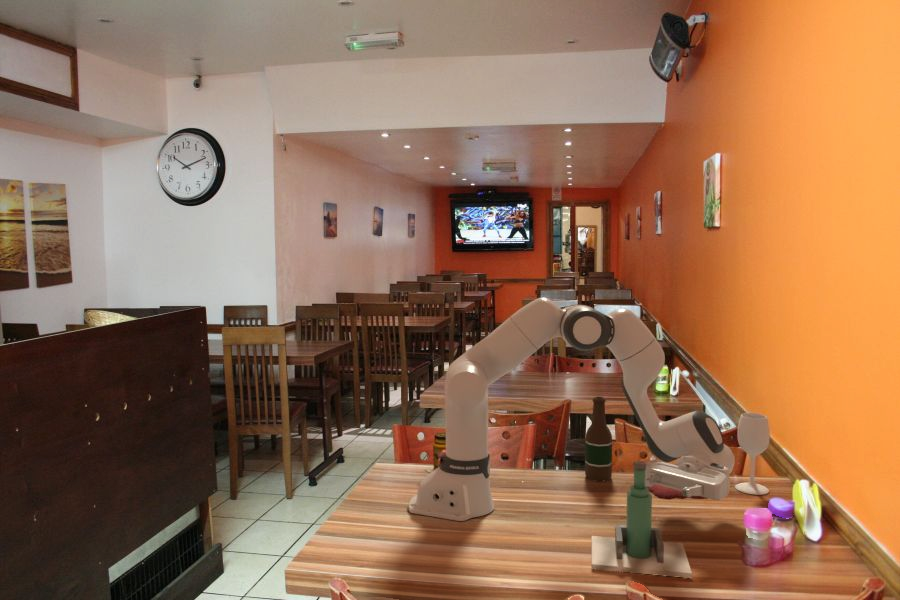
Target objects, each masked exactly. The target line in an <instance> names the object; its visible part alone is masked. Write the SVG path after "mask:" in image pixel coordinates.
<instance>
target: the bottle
mask: <svg viewBox="0 0 900 600" xmlns="http://www.w3.org/2000/svg"><path fill="white" fill-rule="evenodd" d="M646 463H647V462H644V461H639V460H638V461H637V460H636V461H633V462H632V468H633V484H631V485H630V486H629V487H630V489H629V491H627V493H626V525H625V526H626V553H627V554H628V555H629V556H631V557H634V558H638V559H645V558H649V557H650V556H651V528H652V518H653V517H652V516H653V515H652V510H653V507H652V505H653V504H652V503H653V500H652V499H653V496H652V494H651V493H649V492H650V491H649V488H648V486H645V469H646V465H647V464H646Z"/></svg>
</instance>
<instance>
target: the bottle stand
mask: <svg viewBox="0 0 900 600" xmlns="http://www.w3.org/2000/svg"><path fill="white" fill-rule="evenodd" d="M614 526H615V527H614V530H615V531H614V532H615V533H614V537H611V536H610V537H609V536H599V535H591V570H592V571H601V570H602V572H612V571H614V573H623V572H632V573H631V574H634V573H643V574H642V575H644V574H657V575H666V576H679V577H683V578H682V579H687V578H690V579H689V580H692V579H693V573H692V569H691V566H690V563H689V560H688V556H687V553H686V550H685V546H684V544H683V542H674V541H673V542H671V541H670V542H669V541H663V536H662V531H661V528H660V527H651V556H650V557H649V558H645V559H638V558H634V557H631V556H629V555H628V554H627V553H626V525H623V524H615V525H614ZM593 569H594V570H593ZM615 571H617V572H615ZM618 571H619V572H618ZM666 576H665V577H666Z"/></svg>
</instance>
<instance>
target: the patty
mask: <svg viewBox="0 0 900 600" xmlns="http://www.w3.org/2000/svg"><path fill="white" fill-rule="evenodd" d="M647 487H648V488H649V492H650V491H651V492H650V493H652V492H653V493H652V494H653V495H654V497H656V496H657V497H656V498H658V497H659V499H662V498H665V499H664V500H672V499H671V498H673V499H686V498H687V497H686V496H683V495H682V493H683V491H679V490H675V489H672V488H668V487H664V486H661V485H657V484H654V485H653V486H651V487H649V486H647ZM675 497H677V498H675ZM688 498H689V499H696V500H697V499H699V500H700V499H701V500H705V499H706V498H705V497H701V496H691V497H688ZM704 498H705V499H704Z"/></svg>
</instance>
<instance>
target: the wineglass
mask: <svg viewBox="0 0 900 600" xmlns="http://www.w3.org/2000/svg"><path fill="white" fill-rule="evenodd" d="M770 433H771V432H770V426H769V420H768V417H767V416H766V415H764V414H761V413H755V412H754V413H752V412H748V413H746V412H745V413H741V415H740V417H739V420H738V424H737V434H736V435H737V436H736V437H737V441H738V442H737V443H738V445H739V447H740V448H741V450H742V451H744V452H745V453H746V454H747V455H748V456H749V458H750V459H749V460H750V473H749V480H748V482H740V483H738V484H735V485H734V488H735V489H736V491H739V492H741V493H744V494H746V495H755V496H756V495H757V496H762V495H763V496H764V495H767V494H769V493H770V490H769V489H768V488H767V487H766V486H764V485H761V484H759V483H756V479H755V464H756V457H757V456H759V455H761V454H762V453H764V452H765V451H766V450H768V447H769V444H770V436H771V434H770Z"/></svg>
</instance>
